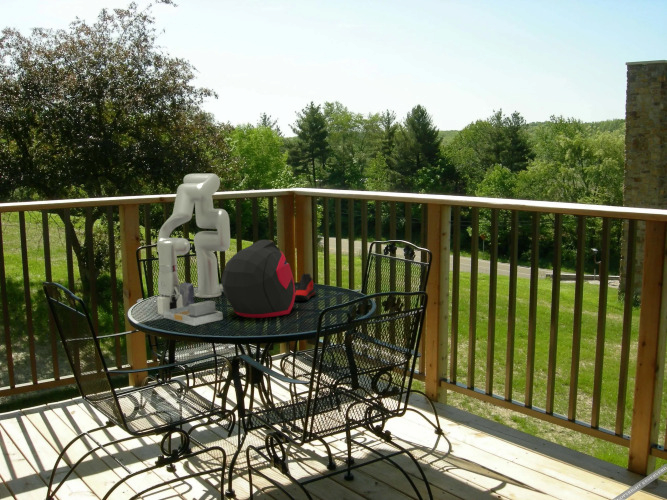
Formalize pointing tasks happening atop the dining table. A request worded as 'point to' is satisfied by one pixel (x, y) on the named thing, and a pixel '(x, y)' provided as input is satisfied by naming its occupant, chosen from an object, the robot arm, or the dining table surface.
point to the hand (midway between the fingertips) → (170, 309)
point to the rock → (187, 293)
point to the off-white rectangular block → (167, 303)
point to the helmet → (259, 281)
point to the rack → (194, 313)
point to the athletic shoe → (305, 288)
